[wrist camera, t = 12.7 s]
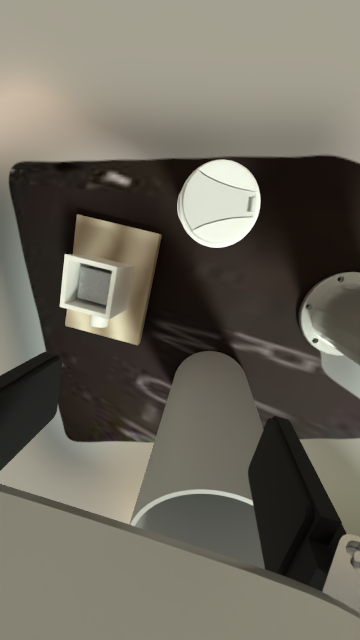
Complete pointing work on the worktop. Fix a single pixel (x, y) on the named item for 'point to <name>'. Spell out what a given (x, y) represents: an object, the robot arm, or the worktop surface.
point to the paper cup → (219, 203)
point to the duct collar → (117, 289)
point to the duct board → (124, 249)
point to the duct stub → (94, 284)
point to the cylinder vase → (204, 461)
